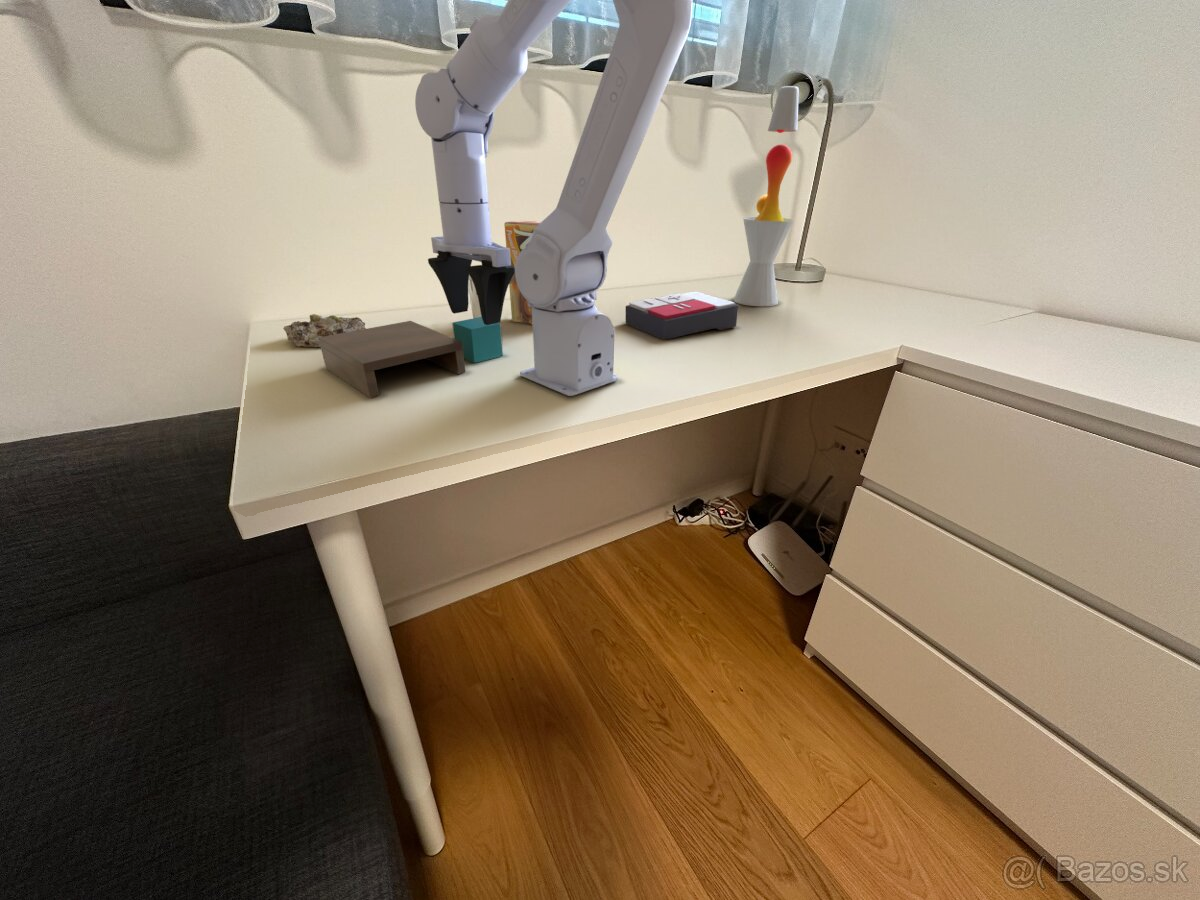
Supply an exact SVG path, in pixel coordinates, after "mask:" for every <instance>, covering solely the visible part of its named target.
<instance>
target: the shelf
mask: <svg viewBox="0 0 1200 900" xmlns="http://www.w3.org/2000/svg"><path fill="white" fill-rule="evenodd" d="M318 339H319V343H320V347H319V348H320V350H321V354H322V358H323V362H324V367H325V369H326V370H328V371H329V372H330V373H332V374H333V375H334V376H336V377H338V378H339V379H341V380H342V381H344V382H345V383H346V384H348V385H350V386H351V387H353V388H355V390H357V391H359V392H360V393H362V394H363V395H365V396H366V397H368V398H369V399H373V398H377V397H380V393H379V387H378V384H377V383H378V382H377V379H376V374H375V371H377V370H382V369H385V368H390V367H393V366H398V365H402V364H407V363H411V362H415V361H419V360H420V361H421V360H423V359H426V360H428V361H430V362H432V363H434V364H436V365H438V366H441V367H442V368H445V369H446V370H448V371H451V372H453V373H455V374H456V375H461V374H462V375H463V374H465V373H466V366H465V365H466V363H465V359H464V356H463V347H462V341H459V340H457V339H454V337H452V336H449V335H447V334H444V333H442V332H439V331H437V330H435V329H432V328H429V327H427V326H425V325H422V324H419V323H417V322H415V321H412V320H407V321H400V322H396V323H390V324H385V325H379V326H374V327H368V328H366V329H362V330H357V331H351V332H346V333H340V334H335V335H330V336H324V337H319V338H318Z"/></svg>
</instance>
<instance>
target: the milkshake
mask: <svg viewBox="0 0 1200 900" xmlns="http://www.w3.org/2000/svg"><path fill="white" fill-rule="evenodd" d="M468 298H469V302H470V307H471V314H472V319H473V318H478V317H482V316H481V311H480V305H479V300H478V295H477V292H476V289H475V286H474V283H473V281H472V279H471V277H470V275H469V280H468Z"/></svg>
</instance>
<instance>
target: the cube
mask: <svg viewBox="0 0 1200 900" xmlns="http://www.w3.org/2000/svg"><path fill="white" fill-rule="evenodd" d="M501 327H502V326H501V322H500V323H495V324H491V325H485V324H484V322H483V319H482V317H478V318H473V317H472V318H469V319H468V318H467V319H463V320H458V321H454V322H452V331H453V338H454V339H457V340H459V341H462V347H463V356H464V360H467V361H469V362H471V363H473V364H478V363H480V362H484V361H488V360H492V359H497V358H501V357H503V356H504V353H503V342H502V341H503V339H502V328H501Z"/></svg>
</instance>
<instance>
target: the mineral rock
mask: <svg viewBox="0 0 1200 900" xmlns="http://www.w3.org/2000/svg"><path fill="white" fill-rule="evenodd" d="M362 329H367V328H366V322H364V321H363V320H362V318H360V317H357V316H356V317H342V316H339V317H338V316H336V315H329V316H325V317H323V316H322V315H320V314H315V313H313V314H309V321H299V320H298V321H293V322H292V323H290V324H289V325H284V326H283V330H284V332H285V334H286V337H287V340H288V341H290V342H292V343H293V344H294V346H297V347H305V348H309V347H310V348H314V347H315V348H321V347H320V343H319V339H318V338H319V337H324V336H330V335H335V334H340V333H346V332H351V331H357V330H362Z"/></svg>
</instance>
